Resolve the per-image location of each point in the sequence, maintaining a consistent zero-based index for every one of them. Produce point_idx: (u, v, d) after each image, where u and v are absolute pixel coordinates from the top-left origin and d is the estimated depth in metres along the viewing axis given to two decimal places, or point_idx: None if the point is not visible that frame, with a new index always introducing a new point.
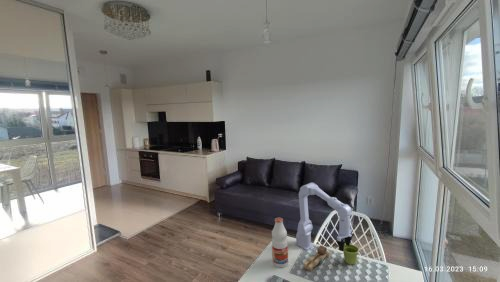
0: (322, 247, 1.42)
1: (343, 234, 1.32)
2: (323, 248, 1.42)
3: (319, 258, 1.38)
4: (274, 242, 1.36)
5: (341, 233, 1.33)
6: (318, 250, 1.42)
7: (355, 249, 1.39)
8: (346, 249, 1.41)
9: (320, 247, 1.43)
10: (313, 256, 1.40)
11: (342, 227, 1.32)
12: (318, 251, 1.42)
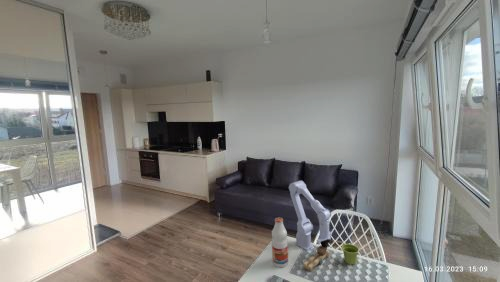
0: (322, 248, 1.42)
1: (323, 237, 1.41)
2: (323, 248, 1.41)
3: (319, 258, 1.38)
4: (274, 242, 1.36)
5: (321, 236, 1.42)
6: (318, 250, 1.42)
7: (355, 249, 1.39)
8: (346, 249, 1.41)
9: (320, 247, 1.43)
10: (313, 256, 1.40)
11: (322, 230, 1.41)
12: (318, 251, 1.42)
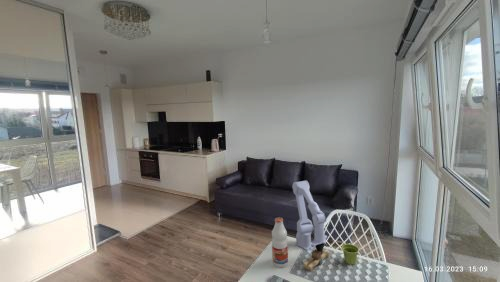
0: (317, 252, 1.38)
1: (317, 241, 1.38)
2: (317, 252, 1.38)
3: None
4: (274, 242, 1.36)
5: (316, 240, 1.38)
6: (312, 254, 1.38)
7: (355, 249, 1.39)
8: (346, 249, 1.41)
9: (314, 251, 1.39)
10: None
11: (316, 234, 1.38)
12: (313, 255, 1.38)
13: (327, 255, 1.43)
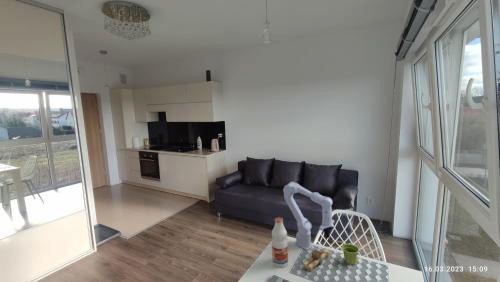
0: (317, 252, 1.38)
1: (325, 224, 1.45)
2: (317, 252, 1.38)
3: None
4: (274, 242, 1.36)
5: (324, 223, 1.46)
6: (312, 254, 1.38)
7: (355, 249, 1.39)
8: (346, 249, 1.41)
9: (314, 251, 1.39)
10: None
11: (324, 218, 1.45)
12: (313, 255, 1.38)
13: (327, 255, 1.43)
